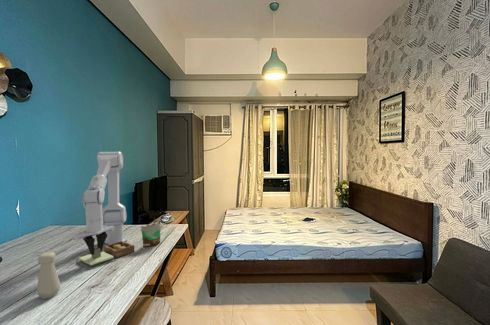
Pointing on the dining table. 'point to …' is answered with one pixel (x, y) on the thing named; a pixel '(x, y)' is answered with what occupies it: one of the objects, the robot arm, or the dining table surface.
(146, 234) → the food container
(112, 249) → the box
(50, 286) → the salt shaker
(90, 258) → the lid
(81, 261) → the mat
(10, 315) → the dining table surface
